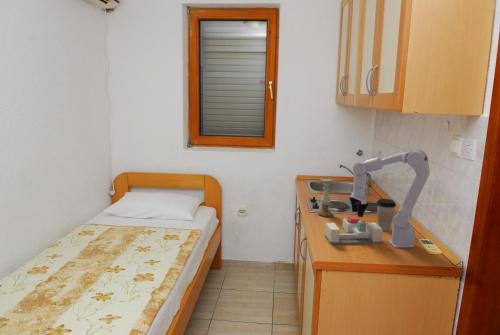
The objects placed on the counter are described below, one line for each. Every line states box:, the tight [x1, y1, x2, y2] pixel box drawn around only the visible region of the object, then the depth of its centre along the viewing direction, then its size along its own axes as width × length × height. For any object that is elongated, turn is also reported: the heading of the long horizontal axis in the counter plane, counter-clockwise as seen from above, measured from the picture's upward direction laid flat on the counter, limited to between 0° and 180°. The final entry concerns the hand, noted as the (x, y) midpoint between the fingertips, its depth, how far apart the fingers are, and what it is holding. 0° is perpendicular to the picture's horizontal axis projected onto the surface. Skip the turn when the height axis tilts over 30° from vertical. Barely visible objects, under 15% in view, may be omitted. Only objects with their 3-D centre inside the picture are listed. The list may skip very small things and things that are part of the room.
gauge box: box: [341, 218, 361, 234], centre depth 198 cm, size 8×8×5 cm
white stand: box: [324, 222, 383, 246], centre depth 185 cm, size 24×10×7 cm, turn 94°
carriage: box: [352, 220, 370, 238], centre depth 185 cm, size 6×7×7 cm
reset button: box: [347, 215, 360, 224], centre depth 197 cm, size 4×4×4 cm
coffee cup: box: [375, 198, 397, 232], centre depth 200 cm, size 9×9×15 cm
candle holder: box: [316, 177, 334, 217], centre depth 222 cm, size 9×9×20 cm
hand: (357, 214), depth 191 cm, fingers open, 7 cm apart
